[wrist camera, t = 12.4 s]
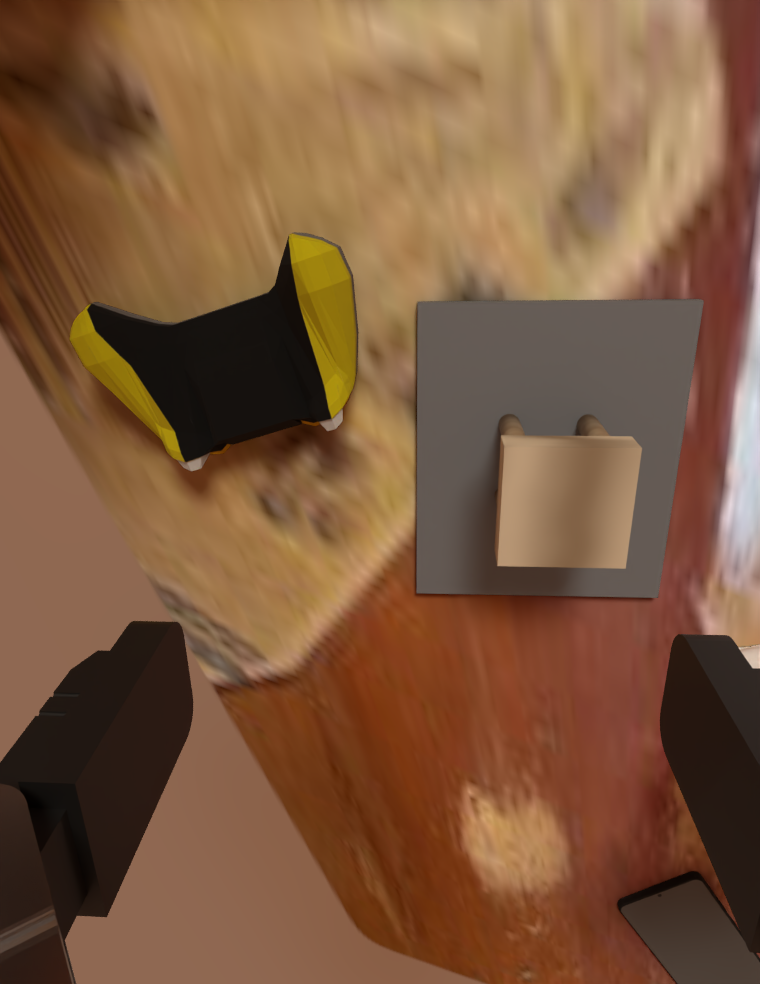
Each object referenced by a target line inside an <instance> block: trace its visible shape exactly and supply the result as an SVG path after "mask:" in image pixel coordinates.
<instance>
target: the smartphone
mask: <svg viewBox="0 0 760 984" xmlns="http://www.w3.org/2000/svg"><path fill="white" fill-rule="evenodd" d="M618 908H619V910H620V912H621V913H622V914H623V916H624V917H625V918H626V919H627V921H628V922H629V923H630V924H631V926H632V927H633V928H634V930H635V931H636V932H637V933H638V935H639V936H640V937H641V938H642V940H643V941H644V942H645V944H646V945H647V946H648V947H649V949H650V950H651V951H652V952H653V954H654V955H655V956H656V958H657V959H658V960H659V961H660V963H661V964H662V965H663V966H664V968H665V969H666V970H667V972H668V973H669V974H670V975H671V977H672V978H673V979H674V980H675V982H676V983H677V984H760V958H759V957H758V955H757V954H756V953H753V952H749V950H748V948H747V945H746V943H745V941H744V938H743V936H742V934H741V931H740V930H739V928H738V927H737V926H736V924H735V922H734V921H733V920H732V918H731V917H730V916H729V914H728V913H727V911H726V910H725V908H724V907H723V905H722V904H721V903H720V901H719V900H718V898H717V897H716V896H715V894H714V893H713V891H712V890H711V889H710V887H709V886H708V884H707V883H706V882H705V880H704V879H703V877H702V876H701V875H700V873H698V872H694V871H693V872H688V873H686V874H683V875H681V876H678V877H675V878H673V879H670V880H667V881H665V882H662V883H660V884H657V885H654V886H652V887H649V888H647V889H644V890H642V891H639V892H637V893H634V894H631V895H629V896H626V897H624V898H621V899H620V900H619V901H618Z"/></svg>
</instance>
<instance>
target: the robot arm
mask: <svg viewBox="0 0 760 984" xmlns="http://www.w3.org/2000/svg"><path fill="white" fill-rule="evenodd" d="M39 713H40V714H39V716H35V718H34V719H33V720H32V721H31V723H30V724H29V726H28V727H27V728H26V729H25V731H24V732H23V733H22V735H21V736H20V737H19V739H18V740H17V741H16V743H15V744H14V745H13V747H12V748H11V749H10V750H9V752H8V753H7V754H6V756H5V757H4V759H3V760H2V761H1V762H0V984H76V981H75V977H74V973H73V970H72V966H71V962H70V958H69V954H68V951H67V947H66V943H65V938H66V936H67V934H68V932H69V930H70V928H71V926H72V924H73V922H74V920H75V918H76V916H95V917H107V915H108V913H109V911H110V909H111V906H112V904H113V902H114V900H115V898H116V895H117V893H118V891H119V889H120V886H121V884H122V882H123V880H124V877H125V875H126V873H127V871H128V869H129V866H130V864H131V862H132V859H133V857H134V855H135V853H136V851H137V848H138V846H139V844H140V842H141V840H142V837H143V835H144V833H145V830H146V828H147V826H148V824H149V822H150V819H151V817H152V815H153V813H154V810H155V808H156V806H157V804H158V801H159V799H160V797H161V795H162V793H163V791H164V788H165V786H166V784H167V781H168V779H169V777H170V775H171V773H172V770H173V768H174V766H175V764H176V761H177V759H178V757H179V755H180V753H181V750H182V748H183V746H184V744H185V742H186V739H187V737H188V734H189V731H190V727H191V722H192V716H193V695H192V688H191V681H190V674H189V668H188V661H187V654H186V647H185V640H184V634H183V630H182V627H181V625H180V624H179V623H178V622H152V621H151V622H150V621H149V622H148V621H133V622H131V623H130V624H129V625H128V626H127V627H126V629H125V630H124V632H123V633H122V635H121V636H120V637H119V639H118V640H117V642H116V643H115V644H114V646H113V647H112V649H111V650H110V651H97V652H95V653H94V654H92V655H91V656H90V657H88V658H87V659H85V660H84V661H82V662H81V663H80V664H78V665H77V666H75V667H74V668H73V669H71V670H70V671H69V673H68V674H67V676H66V677H65V678H64V679H63V681H62V682H61V683H60V685H59V686H58V687H57V689H56V690H55V691H54V696H53V697H50V698H49V699H48V700H47V702H46V703H45V704H44V706H43V707H42V708H41V710H40V712H39ZM660 731H661V739H662V744H663V748H664V752H665V754H666V757H667V759H668V762H669V764H670V766H671V769H672V771H673V773H674V776H675V778H676V780H677V783H678V785H679V788H680V790H681V792H682V795H683V797H684V799H685V802H686V804H687V806H688V809H689V811H690V813H691V816H692V818H693V821H694V823H695V825H696V828H697V830H698V832H699V835H700V837H701V839H702V842H703V844H704V846H705V849H706V851H707V853H708V856H709V858H710V861H711V863H712V865H713V868H714V870H715V872H716V875H717V877H718V879H719V882H720V884H721V886H722V889H723V891H724V894H725V896H726V898H727V901H728V903H729V905H730V908H731V910H732V912H733V915H734V917H735V919H736V922H737V924H738V927H739V929H740V931H741V934H742V936H743V938H744V941H745V943H746V945H747V948H748V950H749V952H753V953H760V668H752V667H751V665H750V664H749V662H748V661H747V660H746V658H745V657H744V655H743V654H742V652H741V651H740V649H739V648H738V646H737V645H736V644H735V642H734V641H733V640H732V638H731V637H729V636H727V635H686V634H678V635H677V636H676V637H675V638H674V640H673V643H672V647H671V653H670V659H669V665H668V671H667V677H666V683H665V689H664V695H663V701H662V707H661V713H660Z"/></svg>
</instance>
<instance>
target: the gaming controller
mask: <svg viewBox="0 0 760 984" xmlns="http://www.w3.org/2000/svg"><path fill="white" fill-rule="evenodd" d="M69 340H70V342H71V344H72V346H73V347H74V349H75V351H76V353H77V355H78V357H79V359H80V360H81V362H82V364H83V366H84V367H85V368H86V369H87V370H88V371H89V372H90V373H91V374H92V375H94V376H95V377H96V378H97V379H98V380H99V381H100V382H101V383H102V384H103V385H105V386H106V387H107V388H108V389H109V390H110V391H111V392H112V393H113V394H114V395H115V396H116V397H117V398H118V399H119V400H121V401H122V402H123V403H124V404H125V405H126V406H127V407H128V408H129V409H130V410H131V411H132V412H133V413H134V414H135V415H136V416H137V417H138V418H139V419H140V420H141V421H142V422H143V423H144V424H145V425H146V426H147V427H148V428H149V429H151V430H152V431H153V432H154V433H155V434H156V435H157V436H158V437H159V438H160V439H161V440H162V441H163V444H164V446H165V449H166V451H167V452H168V453H169V454H170V456H171V457H172V458H174V459H176V460H177V461H178V462H179V463H180V464H181V465H182V467H183V468H185V469H187V470H189V471H195V470H198V469H201V468H202V467H203V465H204V463H205V461H206V460H207V458H208V456H209V454H224V453H225V452H226V450H227V449H228V448H229V447H230V446H231V445H232V444H236V443H239V442H243V441H246V440H249V439H253V438H256V437H259V436H263V435H266V434H269V433H273V432H276V431H279V430H283V429H286V428H289V427H293V426H296V425H299V424H302V423H303V424H308V425H312V426H317V425H319V424H321V425H322V426H323V427H324V428H325V429H326V430H327V431H330V430H334V429H336V428H337V427H338V426H339V425H340V424H341V422H342V421H343V406H344V405H345V404H346V403H347V401H348V399H349V397H350V393H351V391H352V389H353V386H354V382H355V378H356V374H357V358H358V324H357V313H356V303H355V292H354V281H353V274H352V272H351V270H350V267H349V265H348V263H347V261H346V258H345V256H344V254H343V251H342V249H341V247H340V246H338V245H336V244H334V243H332V242H330V241H328V240H326V239H324V238H322V237H318V236H315V235H312V234H306V233H292V234H289V237H288V240H287V244H286V247H285V250H284V253H283V257H282V260H281V263H280V267H279V271H278V275H277V279H276V283H275V286H274V287H273V288H272V289H271V290H270V291H269V292H268V293H265V294H262V295H260V296H257V297H254V298H251V299H248V300H245V301H242V302H239V303H236V304H233V305H230V306H227V307H224V308H221V309H218V310H215V311H212V312H209V313H206V314H203V315H200V316H197V317H194V318H191V319H188V320H185V321H182V322H178V323H170V322H161V321H157V320H154V319H150V318H147V317H143V316H140V315H136V314H133V313H130V312H127V311H124V310H121V309H118V308H115V307H112V306H108V305H105V304H102V303H99V302H94V303H91V304H89V305H87V306H86V308H85V309H84V310H83V311H82V312H81V313H80V314H79V315H78V316H77V317H76V319H75V320H74V322H73V324H72V327H71V331H70V338H69Z"/></svg>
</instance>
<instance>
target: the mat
mask: <svg viewBox="0 0 760 984" xmlns="http://www.w3.org/2000/svg"><path fill="white" fill-rule="evenodd" d="M703 302H704V301H703V300H700V299H666V300H546V301H427V302H418V326H417V593H428V594H482V595H535V596H588V597H642V598H658V593H659V587H660V580H661V574H662V567H663V561H664V555H665V548H666V542H667V535H668V529H669V522H670V516H671V509H672V503H673V496H674V490H675V483H676V477H677V470H678V464H679V457H680V451H681V445H682V438H683V432H684V425H685V419H686V412H687V406H688V399H689V393H690V386H691V380H692V373H693V367H694V360H695V354H696V347H697V341H698V335H699V328H700V322H701V315H702V309H703ZM506 414H513V415H515V416H517V417H518V419H519V421H520V423H521V426H522V428H523V431H524V433H525V436H581V434H580V432H579V431H578V429H577V422H578V420H579V418H580V417H582V416H583V415H587V414H590V415H593V416H595V417H596V418H597V419H598V421H599V422H600V423H601V425H602V426H603V427H604V429H605V430H606V431H607V433H608V434H609V435H610V436H632V437H633V438H634V439H635V441H636V442H637V443H638V444H639V445H640V446H641V448H642V453H641V460H640V467H639V474H638V482H637V489H636V496H635V504H634V511H633V518H632V526H631V533H630V540H629V547H628V555H627V562H626V569H619V568H568V567H518V566H497V561H496V555H495V550H494V549H495V531H496V514H497V505H496V500H495V492H496V490H497V489H498V478H499V460H500V442H501V432H500V429H499V420H500V418H501V417H502V416H504V415H506Z"/></svg>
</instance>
